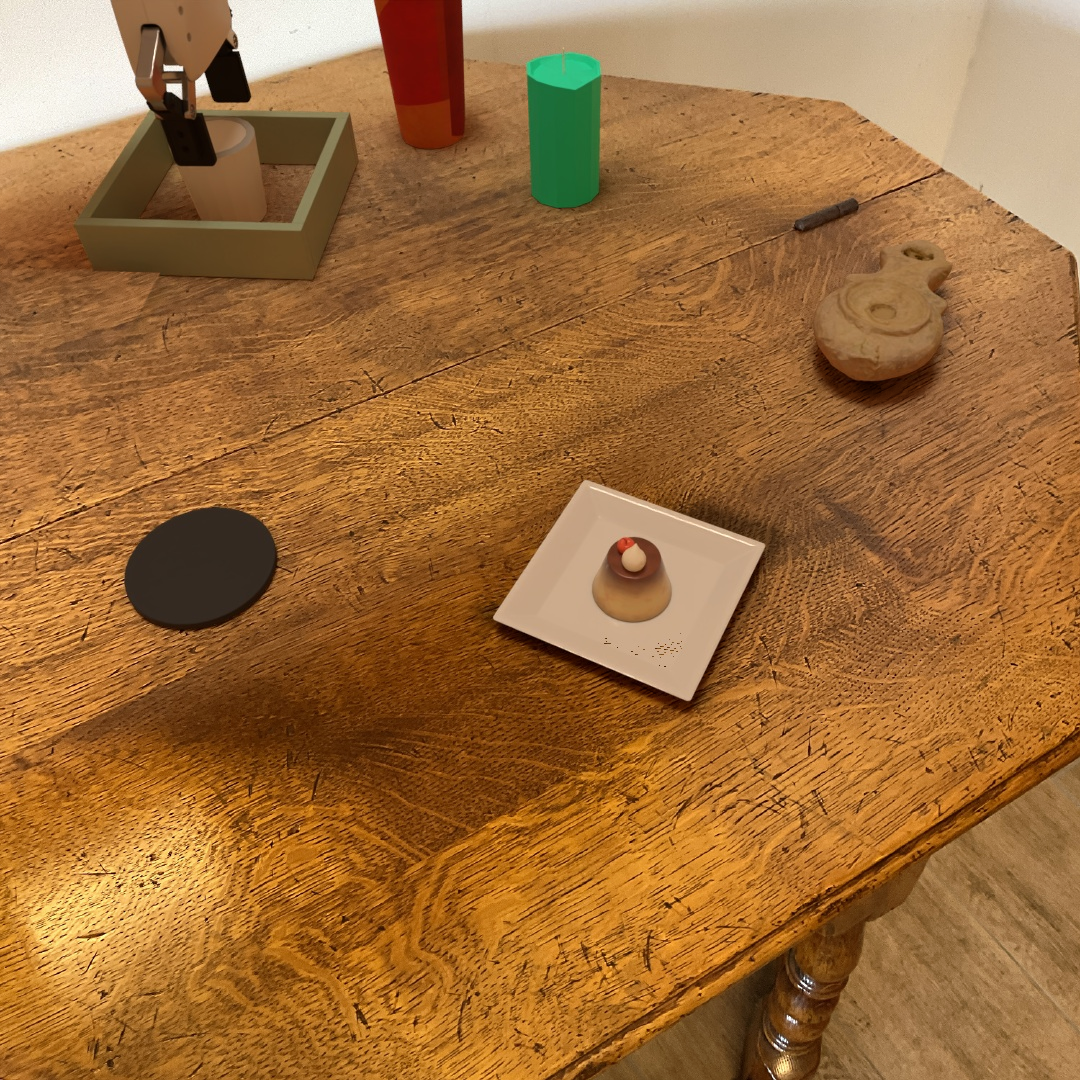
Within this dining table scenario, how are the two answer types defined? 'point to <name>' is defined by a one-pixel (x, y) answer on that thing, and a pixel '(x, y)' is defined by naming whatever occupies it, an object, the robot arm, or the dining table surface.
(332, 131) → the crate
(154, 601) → the coaster
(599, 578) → the dessert
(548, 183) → the candle
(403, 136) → the coffee cup
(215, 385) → the dining table surface
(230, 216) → the beige tapered cylinder
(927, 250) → the oil lamp
